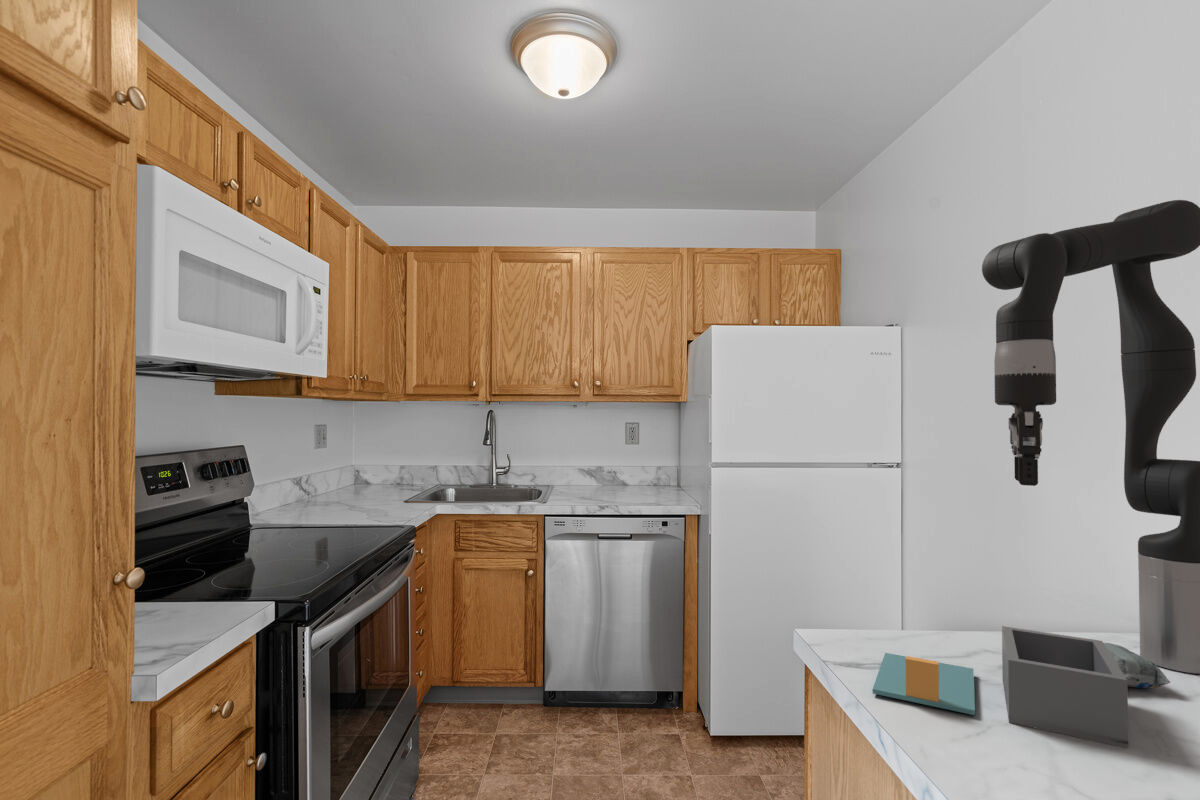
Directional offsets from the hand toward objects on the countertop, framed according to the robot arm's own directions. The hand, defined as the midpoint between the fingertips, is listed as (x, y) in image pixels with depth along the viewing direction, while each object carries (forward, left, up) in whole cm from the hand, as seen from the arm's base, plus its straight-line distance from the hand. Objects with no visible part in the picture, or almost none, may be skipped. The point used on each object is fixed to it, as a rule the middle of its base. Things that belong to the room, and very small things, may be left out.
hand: (1025, 483), depth 92 cm
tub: (+5, +3, -30) cm, 31 cm away
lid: (+6, -13, -30) cm, 33 cm away
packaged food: (-12, +11, -30) cm, 35 cm away
